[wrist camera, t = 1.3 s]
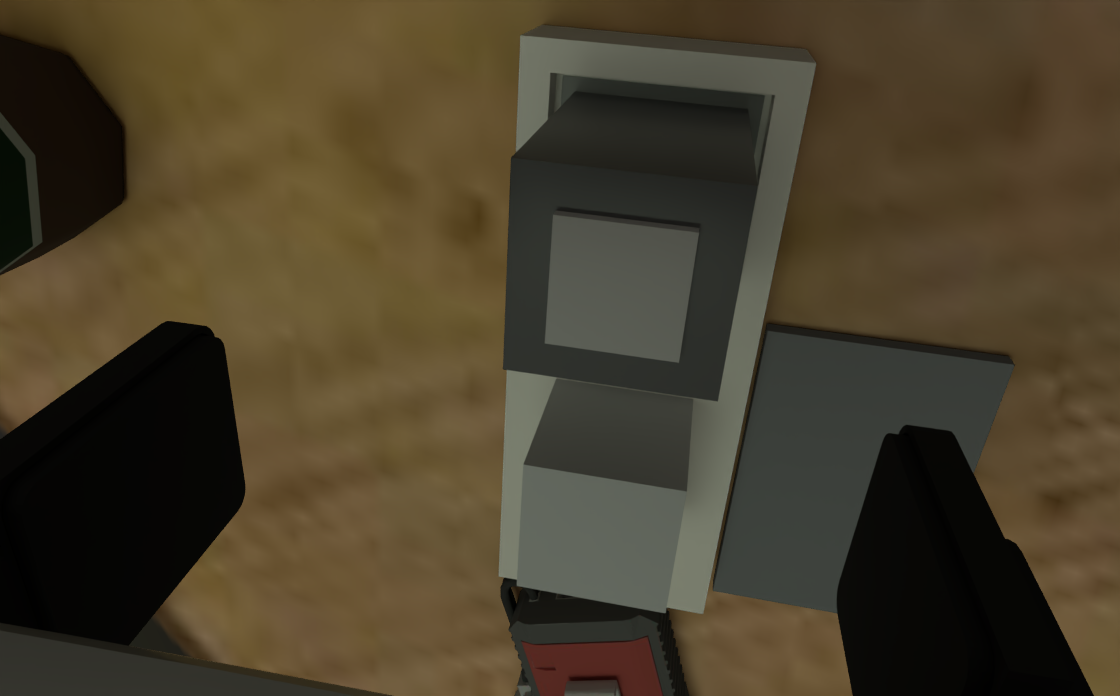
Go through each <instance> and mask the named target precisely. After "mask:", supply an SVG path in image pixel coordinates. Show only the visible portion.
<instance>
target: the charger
mask: <svg viewBox="0 0 1120 696" xmlns="http://www.w3.org/2000/svg"><path fill="white" fill-rule="evenodd" d="M757 188H758V183H757V175H756V167H755V159H754V152H753V144H752V136H751V128H750V120H749V113H748V109H743V108H734V107H724V106H714V105H704V104H695V103H685V102H675V101H665V100H655V99H646V98H636V97H626V96H616V95H607V94H597V93H587V92H577V91H575V92H574V93H573V94H572V95H571V96H570V97H569V98H568V99H567V100H566V101H565V102H564V103H563V104H562V105H561V106H560V108H559V109H558V110H557V111H556V112H555V113H554V114H553V115H552V116H551V117H550V118H549V119H548V120H547V121H546V122H545V123H544V124H543V125H542V126H541V127H540V128H539V129H538V130H537V131H536V132H535V133H534V134H533V136H532V137H531V138H530V139H529V140H528V141H527V142H526V143H525V144H524V145H523V146H522V147H521V148H520V149H519V150H518V151H517V152H516V153H515V154H514V155H513V156H512V157H511V173H510V200H509V226H508V253H507V279H506V306H505V333H504V359H503V369H504V370H511V371H517V372H524V373H531V374H537V375H544V376H551V377H557V378H564V379H571V380H577V381H584V382H591V383H597V384H604V385H611V386H617V387H624V388H631V389H637V390H644V391H651V392H657V393H664V394H671V395H677V396H684V397H691V398H697V399H704V400H711V401H717V402H718V398H719V392H720V387H721V382H722V376H723V371H724V366H725V360H726V355H727V349H728V344H729V339H730V333H731V328H732V323H733V317H734V312H735V306H736V301H737V296H738V290H739V285H740V280H741V274H742V269H743V263H744V258H745V253H746V247H747V242H748V237H749V231H750V226H751V221H752V215H753V210H754V204H755V199H756V194H757Z"/></svg>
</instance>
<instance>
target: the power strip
mask: <svg viewBox="0 0 1120 696" xmlns="http://www.w3.org/2000/svg"><path fill="white" fill-rule="evenodd" d="M815 68H816V62H815V60H814V59H813V58H812V56H811V55H810V53H809V52H808V51H807V49H800V48H789V47H779V46H768V45H757V44H746V43H735V42H724V41H713V40H702V39H692V38H681V37H670V36H659V35H648V34H637V33H626V32H615V31H605V30H594V29H583V28H572V27H561V26H550V25H541V26H539V27H537V28H535V29H533V30H530V31H528V32H526V33H524V34H522V35H520V60H519V84H518V109H517V134H516V152H517V151H518V150H519V149H520V148H521V147H522V146H523V145H524V144H525V143H526V142H527V141H528V140H529V139H530V138H531V137H532V136H533V134H534V133H535V132H536V131H537V130H538V129H539V128H540V127H541V126H542V125H543V124H544V123H545V122H546V121H547V120H548V119H549V118H550V117H551V116H552V115H553V114H554V113H555V112H556V111H557V110H558V109H559V108H560V106H561V105H562V104H563V103H564V102H565V101H566V100H567V99H568V98H569V97H570V96H571V95H572V94H573V93H574V92H575V91H577V92H587V93H597V94H607V95H616V96H626V97H636V98H646V99H655V100H665V101H675V102H685V103H695V104H704V105H714V106H724V107H734V108H743V109H748V113H749V120H750V128H751V136H752V144H753V152H754V159H755V167H756V175H757V183H758V188H757V194H756V199H755V204H754V210H753V215H752V221H751V226H750V231H749V237H748V242H747V247H746V253H745V258H744V263H743V269H742V274H741V280H740V285H739V290H738V296H737V301H736V306H735V312H734V317H733V323H732V328H731V333H730V339H729V344H728V349H727V355H726V360H725V366H724V371H723V376H722V382H721V387H720V392H719V398H718V402H717V401H711V400H704V399H697V398H691V397H684V396H677V395H671V394H664V393H657V392H651V391H644V390H637V389H631V388H624V387H617V386H611V385H604V384H597V383H591V382H584V381H577V380H571V379H564V378H557V377H551V376H544V375H537V374H531V373H524V372H517V371H511V370H507V383H506V407H505V432H504V457H503V482H502V507H501V532H500V557H499V577H505V578H510V579H516V580H517V586H520V587H526V588H531V589H537V590H542V591H547V592H553V593H558V594H563V595H569V596H574V597H580V598H585V599H590V600H596V601H601V602H607V603H612V604H617V605H623V606H628V607H634V608H639V609H644V610H650V611H655V612H660V613H666V608H673V609H678V610H684V611H689V612H694V613H700V614H703V612H704V607H705V602H706V597H707V592H708V587H709V582H710V578H711V573H712V568H713V563H714V558H715V553H716V548H717V544H718V539H719V534H720V529H721V524H722V519H723V515H724V510H725V505H726V500H727V495H728V490H729V485H730V481H731V476H732V471H733V466H734V461H735V456H736V451H737V447H738V442H739V437H740V432H741V427H742V422H743V417H744V413H745V408H746V403H747V398H748V393H749V388H750V383H751V379H752V374H753V369H754V364H755V359H756V354H757V350H758V345H759V340H760V335H761V330H762V325H763V320H764V316H765V311H766V306H767V301H768V296H769V291H770V286H771V282H772V277H773V272H774V267H775V262H776V257H777V252H778V248H779V243H780V238H781V233H782V228H783V223H784V218H785V214H786V209H787V204H788V199H789V194H790V189H791V185H792V180H793V175H794V170H795V165H796V160H797V155H798V151H799V146H800V141H801V136H802V131H803V126H804V121H805V117H806V112H807V107H808V102H809V97H810V92H811V87H812V83H813V78H814V73H815Z"/></svg>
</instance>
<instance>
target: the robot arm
mask: <svg viewBox="0 0 1120 696" xmlns="http://www.w3.org/2000/svg"><path fill="white" fill-rule="evenodd" d="M244 496H245V480H244V473H243V466H242V460H241V453H240V446H239V440H238V433H237V426H236V420H235V413H234V406H233V400H232V393H231V387H230V380H229V373H228V367H227V360H226V353H225V348H224V344H223V342H222V341H221V339H219V338H217V337H215V336H214V333H213V332H212V330H211V329H210V328H208V327H207V326H202V325H195V324H187V323H180V322H173V321H166V322H164V323H162V324H160V325H159V326H158V327H156V328H155V329H153V330H152V331H151V332H149V333H148V334H146V335H145V336H144V337H142V338H141V339H139V340H138V341H137V342H135V343H134V344H132V345H131V346H130V347H128V348H127V349H126V350H124V351H123V352H121V353H120V354H119V355H117V356H116V357H114V358H113V359H112V360H110V361H109V362H107V363H106V364H105V365H103V366H102V367H100V368H99V369H98V370H96V371H95V372H93V373H92V374H91V375H89V376H88V377H87V378H85V379H84V380H82V381H81V382H80V383H78V384H77V385H75V386H74V387H73V388H71V389H70V390H68V391H67V392H66V393H64V394H63V395H61V396H60V397H59V398H57V399H56V400H54V401H53V402H52V403H50V404H49V405H48V406H46V407H45V408H43V409H42V410H41V411H39V412H38V413H36V414H35V415H34V416H32V417H31V418H29V419H28V420H27V421H25V422H24V423H22V424H21V425H20V426H18V427H17V428H15V429H14V430H13V431H11V432H10V433H9V434H7V435H6V436H4V437H3V438H2V439H0V696H392V695H387V694H382V693H376V692H371V691H366V690H361V689H356V688H350V687H345V686H340V685H335V684H329V683H324V682H319V681H314V680H308V679H303V678H298V677H293V676H287V675H282V674H277V673H272V672H266V671H261V670H256V669H250V668H245V667H240V666H234V665H229V664H224V663H218V662H213V661H207V660H202V659H197V658H191V657H186V656H180V655H175V654H169V653H164V652H159V651H153V650H147V649H142V648H137V647H131V646H129V644H130V643H131V642H132V641H133V640H134V638H135V637H136V636H137V635H138V633H139V632H140V631H141V630H142V628H143V627H144V626H145V625H146V624H147V622H148V621H149V620H150V619H151V617H152V616H153V615H154V614H155V612H156V611H157V610H158V609H159V608H160V606H161V605H162V604H163V603H164V601H165V600H166V599H167V598H168V596H169V595H170V594H171V593H172V592H173V590H174V589H175V588H176V587H177V585H178V584H179V583H180V582H181V580H182V579H183V578H184V577H185V576H186V574H187V573H188V572H189V571H190V569H191V568H192V567H193V566H194V564H195V563H196V562H197V561H198V560H199V558H200V557H201V556H202V555H203V553H204V552H205V551H206V550H207V548H208V547H209V546H210V545H211V544H212V542H213V541H214V540H215V539H216V537H217V536H218V535H219V534H220V532H221V531H222V530H223V529H224V528H225V526H226V525H227V524H228V523H229V521H230V520H231V519H232V518H233V516H234V515H235V514H236V513H237V512H238V510H239V508H240V507H241V505H242V502H243V499H244ZM837 613H838V619H839V624H840V630H841V635H842V640H843V646H844V651H845V656H846V662H847V667H848V673H849V678H850V683H851V689H852V694H853V696H1094V695H1093V693H1092V691H1091V689H1090V687H1089V685H1088V683H1087V681H1086V679H1085V677H1084V675H1083V673H1082V671H1081V669H1080V667H1079V665H1078V663H1077V661H1076V659H1075V657H1074V655H1073V653H1072V651H1071V649H1070V647H1069V645H1068V643H1067V641H1066V639H1065V637H1064V635H1063V633H1062V631H1061V629H1060V627H1059V625H1058V623H1057V621H1056V619H1055V617H1054V615H1053V613H1052V611H1051V609H1050V607H1049V605H1048V603H1047V601H1046V599H1045V597H1044V595H1043V593H1042V591H1041V589H1040V587H1039V585H1038V583H1037V581H1036V579H1035V577H1034V575H1033V573H1032V571H1031V569H1030V567H1029V565H1028V563H1027V561H1026V559H1025V557H1024V555H1023V553H1022V552H1021V550H1020V549H1019V547H1018V546H1017V544H1016V543H1014V542H1012V541H1011V540H1009V539H1005V538H1004V536H1003V534H1002V532H1001V530H1000V528H999V526H998V524H997V521H996V519H995V517H994V515H993V513H992V511H991V509H990V507H989V505H988V503H987V501H986V499H985V497H984V495H983V492H982V490H981V488H980V486H979V484H978V482H977V480H976V478H975V476H974V474H973V472H972V470H971V468H970V466H969V464H968V461H967V459H966V457H965V455H964V453H963V451H962V449H961V447H960V445H959V443H958V441H957V439H956V437H955V435H954V434H953V432H952V431H948V430H942V429H935V428H927V427H920V426H913V425H905V426H903V427H902V428H901V430H900V431H899V434H893V433H888V434H886V436H885V437H884V439H883V442H882V444H881V448H880V451H879V454H878V457H877V461H876V464H875V467H874V470H873V474H872V477H871V480H870V483H869V486H868V490H867V493H866V496H865V499H864V503H863V506H862V509H861V512H860V516H859V519H858V522H857V525H856V528H855V532H854V535H853V538H852V541H851V545H850V548H849V551H848V554H847V558H846V561H845V564H844V567H843V570H842V574H841V577H840V580H839V584H838V589H837Z"/></svg>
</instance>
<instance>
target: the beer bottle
mask: <svg viewBox="0 0 1120 696" xmlns="http://www.w3.org/2000/svg"><path fill="white" fill-rule="evenodd" d="M123 198H124V186H123V151H122V126H121V125H120V123H119V122H118V121H117V120H116V118H115V117H114V116H113V114H112V113H111V112H110V110H109V109H108V108H107V106H106V105H105V104H104V102H103V101H102V100H101V98H100V97H99V96H98V95H97V93H96V92H95V91H94V89H93V88H92V87H91V85H90V84H89V83H88V81H87V80H86V79H85V77H84V76H83V75H82V74H81V72H80V71H79V70H78V68H77V67H76V66H75V64H74V63H73V62H72V60H71V59H70V58H69V57H68V56H66V55H64V54H62V53H58V52H55V51H52V50H48V49H45V48H42V47H38V46H35V45H32V44H28V43H25V42H22V41H18V40H15V39H12V38H8V37H5V36H2V35H0V275H2V274H4V273H6V272H8V271H10V270H12V269H15V268H17V267H19V266H21V265H23V264H25V263H27V262H30V261H32V260H34V259H36V258H38V257H40V256H42V255H44V254H46V253H47V252H49V251H51V250H53V249H55V248H56V247H58V246H60V245H62V244H63V243H65V242H67V241H69V240H71V239H72V238H74V237H75V236H77V235H78V234H80V233H81V232H82V231H84V230H85V229H87V228H88V227H89V226H91V225H92V224H94V223H95V222H96V221H98V220H99V219H101V218H102V217H103V216H105V215H106V214H108V213H109V212H110V211H112V210H113V209H115V208H116V207H117V206H119V205H120V204H121V203H122V201H123Z"/></svg>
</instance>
